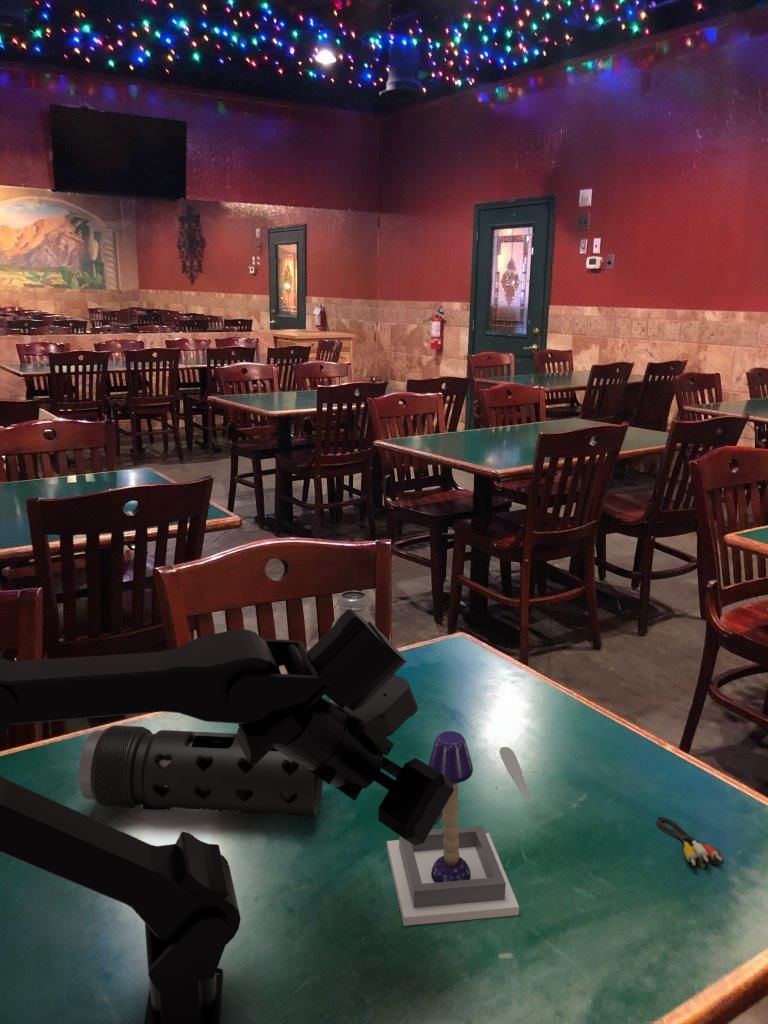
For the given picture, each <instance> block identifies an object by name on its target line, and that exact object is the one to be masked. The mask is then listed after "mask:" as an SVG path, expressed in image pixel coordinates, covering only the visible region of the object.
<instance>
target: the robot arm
mask: <svg viewBox="0 0 768 1024" xmlns="http://www.w3.org/2000/svg"><path fill="white" fill-rule="evenodd" d="M375 626H376V625H375ZM375 626H374V625H373V624H372V623H371V622H370V621H369V622H367V621H365V620H364V619H363V618H362V617H361V616H358V615H357V614H356V613H355V612H354V611H353V610H352V609H347V610H346V611H345V612H344V613H343V614H342V615H341V616H340V618H339V619H338V620H337V622H336V623H335V625H334V626H333V627H332V626H331V628H330V629H329V630H328V631H327V632H326V633H325V634H324V635H323V636H322V637H321V638H320V639H318V641H317V642H316V643H315V644H314V645H313V646H312V647H311V648H310V649H306V647H305V646H304V644H303V642H302V640H294V639H293V640H292V639H278V638H277V639H276V638H275V639H274V638H263V637H262V636H260V635H259V634H258V633H257V632H255V631H253V630H249V629H243V628H242V629H241V628H238V629H232V630H227V631H221V632H217V633H213V634H209V635H208V634H207V635H204V636H199V637H197V638H195V639H192V640H190V641H189V642H187V643H184V644H182V645H179V646H177V647H176V648H175V647H174V648H170V649H167V650H162V651H153V652H152V651H151V652H137V653H136V652H135V653H121V654H120V653H119V654H107V655H106V654H105V655H91V656H76V657H75V656H74V657H59V658H57V657H56V658H43V659H29V660H27V659H26V660H25V659H24V660H9V659H4V658H0V733H1V732H3V730H4V729H6V728H7V727H8V726H13V725H25V724H37V723H47V722H58V721H68V720H69V721H70V720H71V721H72V720H82V719H83V720H84V719H93V718H104V717H117V716H128V715H129V716H130V715H140V714H153V713H162V712H163V713H177V714H181V715H184V716H187V717H190V718H194V719H196V720H200V721H202V722H205V723H207V722H208V723H222V724H223V723H225V724H235V725H236V724H237V726H238V728H237V732H236V734H237V735H236V739H237V741H238V743H239V745H240V747H241V749H242V750H243V752H244V754H245V756H246V758H247V760H248V762H249V764H250V765H255V764H257V763H258V762H259V761H260V760H261V759H262V758H263V757H264V756H265V755H266V754H267V753H268V752H269V751H270V750H271V749H272V748H275V749H276V750H278V751H280V752H281V753H283V754H284V755H286V756H287V757H289V758H291V759H292V760H294V761H295V762H296V763H298V764H299V765H301V766H302V767H304V768H305V769H307V770H308V771H310V772H312V773H313V774H315V775H316V776H317V777H319V778H320V779H322V780H323V782H325V784H328V785H331V786H333V787H334V788H336V789H337V790H338V791H339V792H341V793H343V794H344V795H346V796H347V797H348V798H350V799H351V800H353V801H356V800H357V799H358V796H359V795H360V793H361V791H362V790H364V789H366V788H368V787H370V785H372V784H373V783H374V782H375V783H377V784H378V785H380V786H382V788H385V789H386V790H387V793H386V794H385V796H384V798H383V800H382V801H381V803H380V805H379V806H378V813H377V814H378V815H377V816H378V822H380V823H381V824H383V825H384V826H385V827H387V828H388V829H390V830H391V831H392V832H394V833H395V834H397V835H398V836H399V835H400V836H401V837H402V838H404V839H405V840H407V841H408V842H410V843H412V844H413V845H415V846H416V845H419V844H422V843H424V841H425V840H426V838H427V836H428V834H429V833H430V831H431V829H433V827H434V826H436V825H439V822H441V819H442V816H443V811H444V810H443V808H444V807H445V805H446V803H447V801H448V800H449V798H450V796H451V794H452V793H453V791H454V787H453V782H452V781H451V780H450V779H449V778H447V777H446V776H445V775H443V774H442V773H440V772H439V771H437V770H435V769H433V768H432V767H430V766H428V765H429V764H427V763H425V762H424V761H422V760H420V759H418V758H417V757H415V758H412V759H410V760H409V761H406V762H405V763H404V765H403V766H402V767H401V766H400V765H398V764H397V763H395V762H393V761H392V760H390V759H389V758H387V757H386V756H388V755H389V754H390V752H391V751H392V749H393V748H394V746H395V743H394V742H393V741H391V740H390V739H388V738H387V737H390V736H393V734H394V733H395V732H396V731H397V730H398V729H399V728H400V727H402V726H403V724H404V723H405V722H406V721H407V720H408V719H409V718H411V717H413V716H415V714H416V713H417V711H418V709H419V705H418V703H417V700H416V698H415V695H414V693H413V691H412V689H411V688H412V687H411V686H410V683H409V681H408V680H407V679H405V678H403V677H401V676H399V675H397V674H396V673H398V671H399V670H401V668H402V667H404V665H406V663H407V662H408V661H407V659H406V658H405V657H404V655H403V654H402V653H401V652H400V651H399V650H398V648H397V647H396V646H395V645H394V644H393V643H392V642H391V641H390V640H389V639H388V638H387V636H386V635H384V634H383V632H382V631H380V629H378V628H377V627H375ZM282 666H283V667H284V669H285V671H286V673H282V672H281V670H280V668H279V667H282ZM324 696H326V697H327V698H328V699H330V701H331V700H332V701H333V702H334V703H335V704H334V703H332V702H330V701H329V700H327V699H325V698H324ZM337 705H338V706H337ZM381 769H382V770H383V771H384V772H386V773H388V774H390V775H391V777H390V776H389V775H388V774H386V773H384V772H383V771H381ZM392 777H394V778H395V779H393V778H392ZM0 854H3V855H5V856H8V857H10V858H12V859H16V860H18V861H20V862H23V863H25V864H27V865H30V866H31V867H34V868H37V869H40V870H41V871H44V872H46V873H49V874H51V875H54V876H56V877H59V878H62V879H64V880H65V881H69V882H70V883H74V884H76V885H78V886H80V887H83V888H85V889H88V890H90V891H93V892H95V893H97V894H100V895H102V896H105V897H107V898H110V899H113V900H115V901H117V902H118V903H120V904H125V905H127V907H130V908H131V909H132V910H133V912H135V913H136V914H137V915H138V917H139V918H140V919H141V920H142V922H144V929H145V930H144V932H145V946H146V948H145V949H146V960H147V961H146V962H147V963H146V964H147V975H148V980H149V990H148V996H147V1003H146V1007H145V1015H144V1021H143V1024H221V1020H222V1005H223V1004H222V1002H223V1000H222V999H223V983H224V971H223V969H222V968H221V967H219V964H220V961H221V958H222V956H223V954H224V950H225V948H226V946H227V944H229V943H230V942H231V941H232V940H233V939H234V938H235V936H236V935H237V932H238V930H239V928H240V924H241V915H240V909H239V905H238V900H237V896H236V892H235V885H234V882H233V877H232V876H233V875H232V871H231V867H230V865H229V862H228V860H227V858H226V857H225V856H223V854H221V849H220V845H219V844H215V843H208V842H205V841H202V840H200V839H199V838H197V837H195V836H194V835H193V834H191V833H190V832H188V831H185V830H184V831H182V832H180V833H179V836H178V838H177V840H176V842H175V843H172V844H164V845H154V844H151V843H150V844H149V843H148V842H146V841H144V840H141V839H138V838H137V837H134V836H132V835H130V834H128V833H125V832H124V831H121V830H119V829H117V828H114V827H112V826H110V825H108V824H105V823H103V822H101V821H99V820H98V819H95V818H92V817H91V816H88V815H86V814H84V813H81V812H79V811H77V810H75V809H73V808H70V807H68V806H66V805H63V804H61V803H60V802H57V801H55V800H52V799H50V798H49V797H46V796H45V795H42V794H40V793H37V792H35V791H34V790H31V789H28V788H26V787H24V786H22V785H20V784H17V783H15V782H13V781H11V780H9V779H7V778H5V777H4V776H2V774H0Z"/></svg>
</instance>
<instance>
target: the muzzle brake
mask: <svg viewBox="0 0 768 1024" xmlns="http://www.w3.org/2000/svg"><path fill="white" fill-rule="evenodd" d="M236 735H237V733H236V732H234V733H233V732H230V733H229V732H213V731H211V732H209V731H193V730H192V731H189V730H172V729H171V730H170V729H168V730H167V729H162V730H161V729H160V730H157V732H155V733H153V731H152V730H151V729H149V728H147V727H145V726H137V725H118V724H117V725H112V726H109V727H107V728H105V729H104V730H102V729H100V730H98V729H96V730H93V731H92V732H91V733H90V734H89V735H88V737H86V740H85V743H84V745H83V748H82V751H81V755H80V758H79V766H78V786H79V787H78V788H79V792H80V794H81V796H82V797H83V798H84V799H85V800H90V801H94V802H95V803H97V804H98V805H99V806H101V807H104V808H118V809H119V808H120V809H122V808H124V809H134V808H136V807H139V806H142V809H143V810H153V811H168V812H169V811H170V810H171V809H181V810H182V809H183V810H185V809H187V810H202V811H204V810H205V811H206V810H210V811H218V812H219V813H223V812H224V811H225V812H239V813H240V814H253V815H255V814H256V815H270V816H271V815H273V816H274V815H275V816H288V817H289V816H291V817H293V816H294V817H309V818H310V817H311V818H313V817H315V816H316V815H318V812H319V810H320V805H321V802H322V801H321V800H322V795H323V794H322V793H323V787H324V785H323V784H324V781H323V780H322V779H320V778H319V777H317V776H316V775H315V774H313V773H312V772H310V771H308V770H307V769H305V768H304V767H302V766H301V765H299V764H298V763H296V762H295V761H294V760H292V759H291V758H289V757H287V756H286V755H284V754H283V753H281V752H280V751H278V750H276V749H275V748H272V749H271V750H270V751H269V752H268V753H267V754H266V755H265V756H264V757H263V758H262V759H261V760H260V761H259V762H258V763H257V764H255V765H250V764H249V762H248V760H247V758H246V756H245V754H244V752H243V750H242V749H241V747H240V745H239V743H238V741H237V739H236Z"/></svg>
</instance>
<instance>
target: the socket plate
mask: <svg viewBox="0 0 768 1024" xmlns="http://www.w3.org/2000/svg"><path fill="white" fill-rule="evenodd" d="M398 837H399V839H396V840H395V839H393V840H387V841H386V852H387V855H388V859H389V864H390V869H391V873H392V878H393V882H394V887H395V892H396V896H397V901H398V906H399V910H400V915H401V919H402V925H403V926H406V927H407V926H413V925H414V926H415V925H427V924H437V923H439V924H440V923H447V922H448V923H449V922H459V921H471V920H479V919H490V918H492V919H493V918H501V917H502V918H503V917H513V916H519V913H520V905H519V904H518V901H517V898H516V896H515V893H514V891H513V889H512V885H511V884H510V881H509V879H508V876H507V873H506V871H505V870H504V866H503V864H502V862H501V860H500V857H499V854H498V852H497V849H496V847H495V844H494V843H493V840H492V838H491V835H490V833H489V832H486V830H485V829H484V826H483V825H468V826H459V834H458V838H459V847H458V850H459V857H461V858H462V859H463V860H465V862H466V863H467V865H468V866H469V869H470V874H471V877H470V880H460V881H449V882H437V883H435V882H434V881H433V879H432V876H431V872H432V867H433V865H434V863H435V862H436V860H437V859H439V858H440V857H442V856H444V855H443V853H444V849H445V848H444V845H443V838H444V834H443V827H442V828H432V829H431V831H430V833H429V834H428V836H427V838H426V840H425V841H424V843H422V844H419V845H416V846H415V845H413V844H412V843H410V842H408V841H407V840H405V839H404V838H402V837H401V836H400V835H398Z"/></svg>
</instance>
